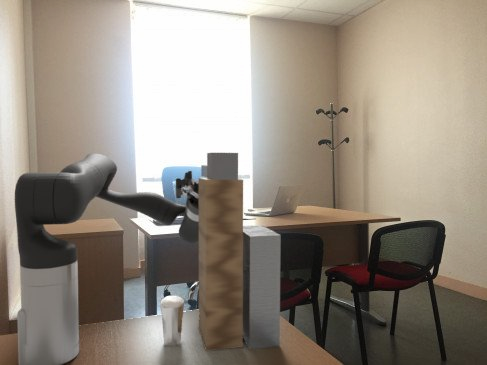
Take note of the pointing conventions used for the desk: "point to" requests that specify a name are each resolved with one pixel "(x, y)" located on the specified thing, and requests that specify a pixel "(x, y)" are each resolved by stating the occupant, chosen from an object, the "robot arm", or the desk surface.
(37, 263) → the robot arm
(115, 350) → the desk surface
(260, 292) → the tall grey pillar
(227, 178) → the block
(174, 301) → the milkshake
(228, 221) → the walnut stand
